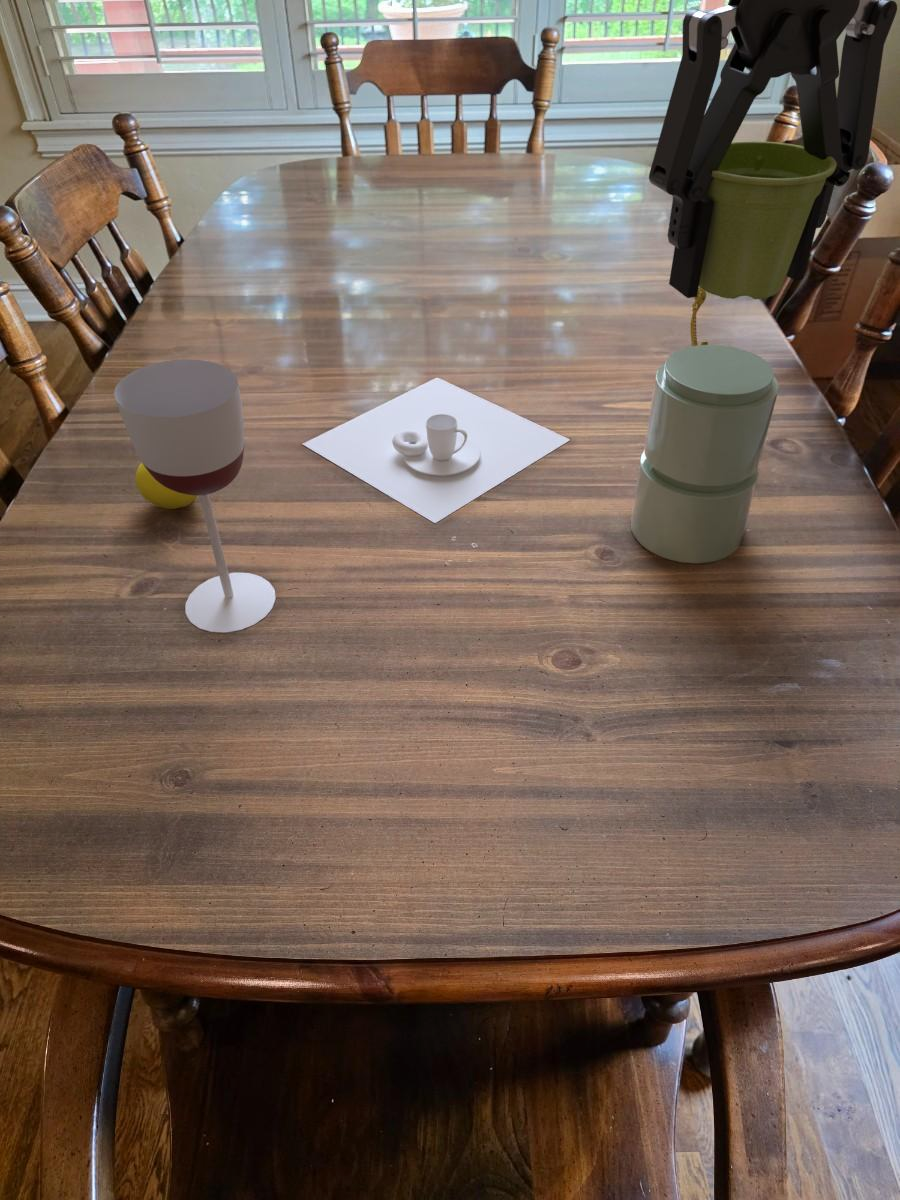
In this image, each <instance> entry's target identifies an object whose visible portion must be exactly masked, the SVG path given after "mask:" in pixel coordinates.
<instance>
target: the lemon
mask: <svg viewBox="0 0 900 1200" xmlns="http://www.w3.org/2000/svg"><path fill="white" fill-rule="evenodd" d="M134 476H135V477H134V479H135V480H134V481H135V483H136V487H137V490H138V491H139V492H140V494H141V496H142V498H144V499H145V500H146V501H148V502H149V503H150V504H152V505H153V506H155V507H158V508H163V509H167V510H168V509H169V510H175V509H180V508H185V507H187V506H188V505H190V504H191V503H192V502H194V501H196V499H197V498H198V497H199V495H188V494H183V493H179V492H176V491H173V490H171V489H169V488H167V487H165V486H163V485H162V484H160V483H159V482H158V481H157V480H155V479H154V477H153V476H152V475H151V474H150V473H149V472H148V470H147V469H146V468H145V466H144V465H143V463H142V462H141V463H140V464H139V465H138V468H137V469H136V471H135V475H134Z"/></svg>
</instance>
